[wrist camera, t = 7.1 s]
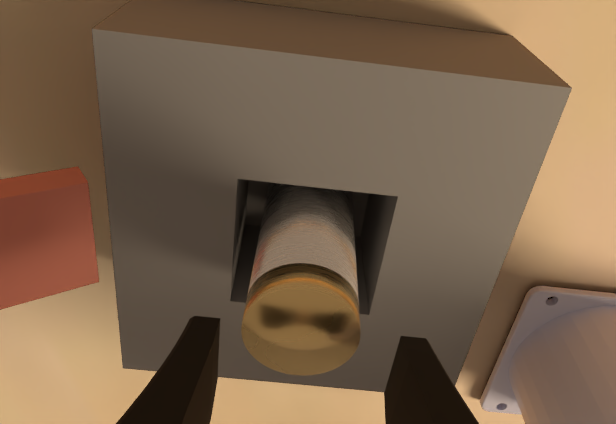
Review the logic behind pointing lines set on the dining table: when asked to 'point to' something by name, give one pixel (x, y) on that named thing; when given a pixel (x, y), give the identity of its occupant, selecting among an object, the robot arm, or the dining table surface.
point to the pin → (303, 282)
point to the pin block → (313, 167)
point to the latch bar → (45, 236)
